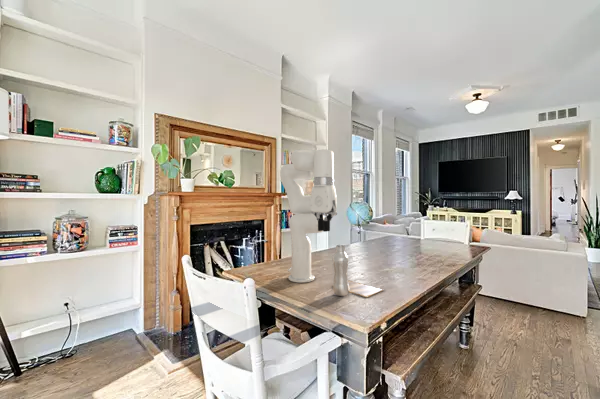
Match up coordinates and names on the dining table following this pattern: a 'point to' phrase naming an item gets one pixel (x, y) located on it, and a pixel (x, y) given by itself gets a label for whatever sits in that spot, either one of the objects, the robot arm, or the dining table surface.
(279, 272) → the dining table surface
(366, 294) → the cork mat
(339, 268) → the plastic bottle
